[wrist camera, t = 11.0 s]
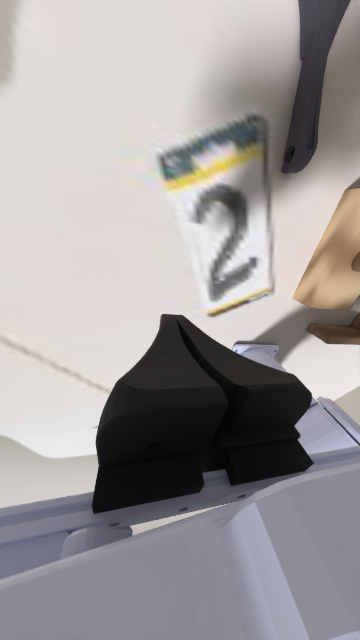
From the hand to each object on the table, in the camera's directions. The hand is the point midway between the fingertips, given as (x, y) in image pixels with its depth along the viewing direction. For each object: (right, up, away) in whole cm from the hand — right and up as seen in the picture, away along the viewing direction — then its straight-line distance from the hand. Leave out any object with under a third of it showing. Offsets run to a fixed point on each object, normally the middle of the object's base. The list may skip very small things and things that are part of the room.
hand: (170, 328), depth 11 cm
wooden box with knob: (+20, +9, +11) cm, 24 cm away
